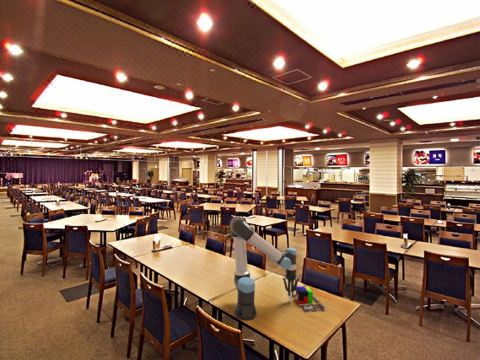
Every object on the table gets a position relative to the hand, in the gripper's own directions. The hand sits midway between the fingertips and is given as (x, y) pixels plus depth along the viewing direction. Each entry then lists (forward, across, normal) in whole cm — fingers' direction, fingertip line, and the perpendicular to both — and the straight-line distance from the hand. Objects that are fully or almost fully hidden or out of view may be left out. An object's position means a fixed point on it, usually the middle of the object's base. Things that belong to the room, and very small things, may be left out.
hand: (290, 299), depth 194 cm
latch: (+2, +8, -13) cm, 16 cm away
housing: (+2, +12, -4) cm, 13 cm away
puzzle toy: (+3, +11, 0) cm, 11 cm away
